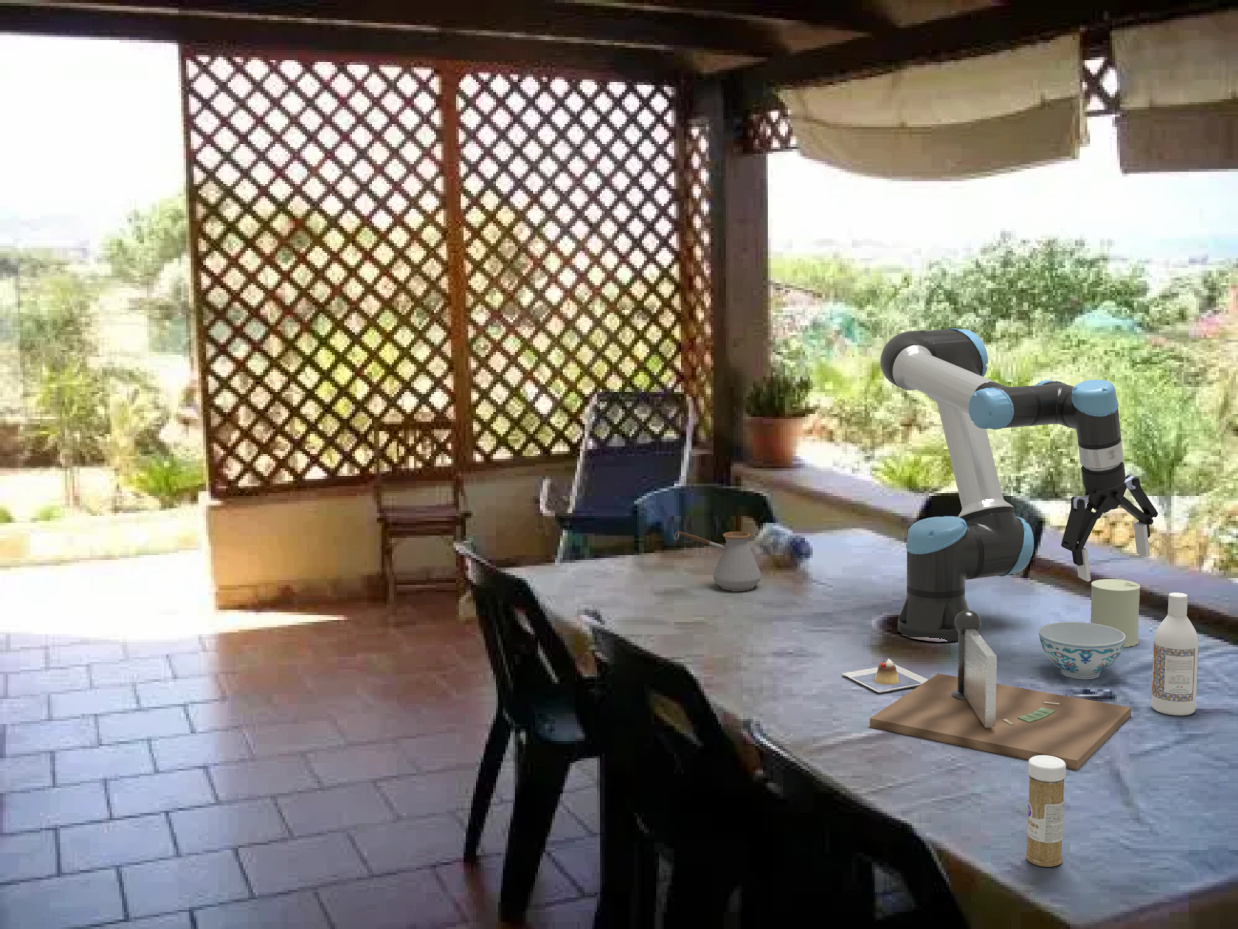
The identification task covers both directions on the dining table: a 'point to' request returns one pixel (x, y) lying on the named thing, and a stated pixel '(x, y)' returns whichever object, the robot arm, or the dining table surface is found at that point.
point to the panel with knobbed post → (976, 667)
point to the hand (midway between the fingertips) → (1114, 566)
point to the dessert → (886, 675)
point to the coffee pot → (733, 562)
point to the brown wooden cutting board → (1005, 721)
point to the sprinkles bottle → (1045, 810)
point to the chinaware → (1081, 647)
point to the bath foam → (1175, 661)
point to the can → (1116, 607)
